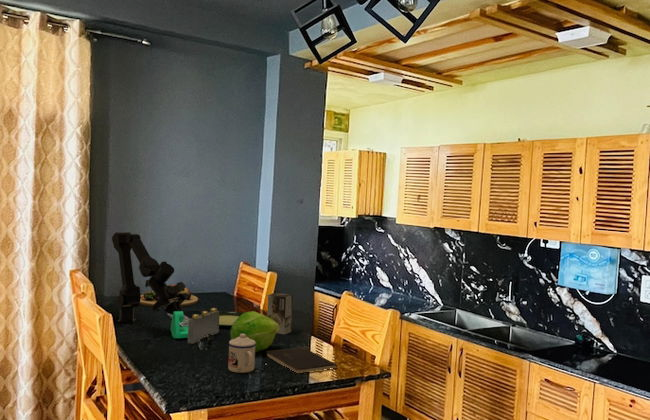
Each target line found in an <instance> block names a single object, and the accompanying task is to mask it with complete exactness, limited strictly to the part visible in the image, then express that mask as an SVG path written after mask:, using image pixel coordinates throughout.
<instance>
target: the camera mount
mask: <svg viewBox="0 0 650 420" xmlns="http://www.w3.org/2000/svg"><path fill="white" fill-rule="evenodd" d="M183 316H184V311H183V310H182V311H174V312H173V315H172V317H171V323H170V329H169V331H170V332H171V337H172V338H173V339H184V338H185V339H188V326H187V325H186V326H180V325H181V324H180V323H183V322H184V318H183Z"/></svg>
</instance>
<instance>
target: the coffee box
mask: <svg viewBox="0 0 650 420" xmlns="http://www.w3.org/2000/svg"><path fill="white" fill-rule="evenodd" d="M293 296H294V295H293V294H288V293H280V292H274V293H270V294H268V295H267V310H266V311H267V313H266V316H267V317H269V318H271V319H272V320H274V321H275V322H276V323H278V324H279V327H280V328H279V330H278V332H277V333H276V334H278V335H288V334H290V333H292V321H293V320H292V317H293Z"/></svg>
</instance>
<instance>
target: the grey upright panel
mask: <svg viewBox="0 0 650 420" xmlns="http://www.w3.org/2000/svg"><path fill="white" fill-rule="evenodd" d="M201 314H202V315H201ZM201 314H198V313H194V314H192V317H191V318H190V319H188V324H187V325H188V338H187V344H196V343H198V342H200V341H199V340H200V339H202V338H203V337H204V336H205V335H208V334H211V335H212V336H215V335H216V334H219V332H220V326H219V315H220V310H218V309H217V308H216V307H211V308H210V311H207V310H202V311H201ZM199 315H201V316H199Z"/></svg>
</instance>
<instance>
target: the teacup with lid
mask: <svg viewBox="0 0 650 420" xmlns="http://www.w3.org/2000/svg"><path fill="white" fill-rule="evenodd" d="M255 346H256V342H255V341H254V340H252V339H250V338H248V337H246V334H240V337H237V338H235V339H230V340H229V342H228V364H227V365H228V367H227V369H228V370H229V372H234V373H242V374H244V373H250V372H252V371H254V369H255V361H256V359H255V358H256V352H255Z"/></svg>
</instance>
